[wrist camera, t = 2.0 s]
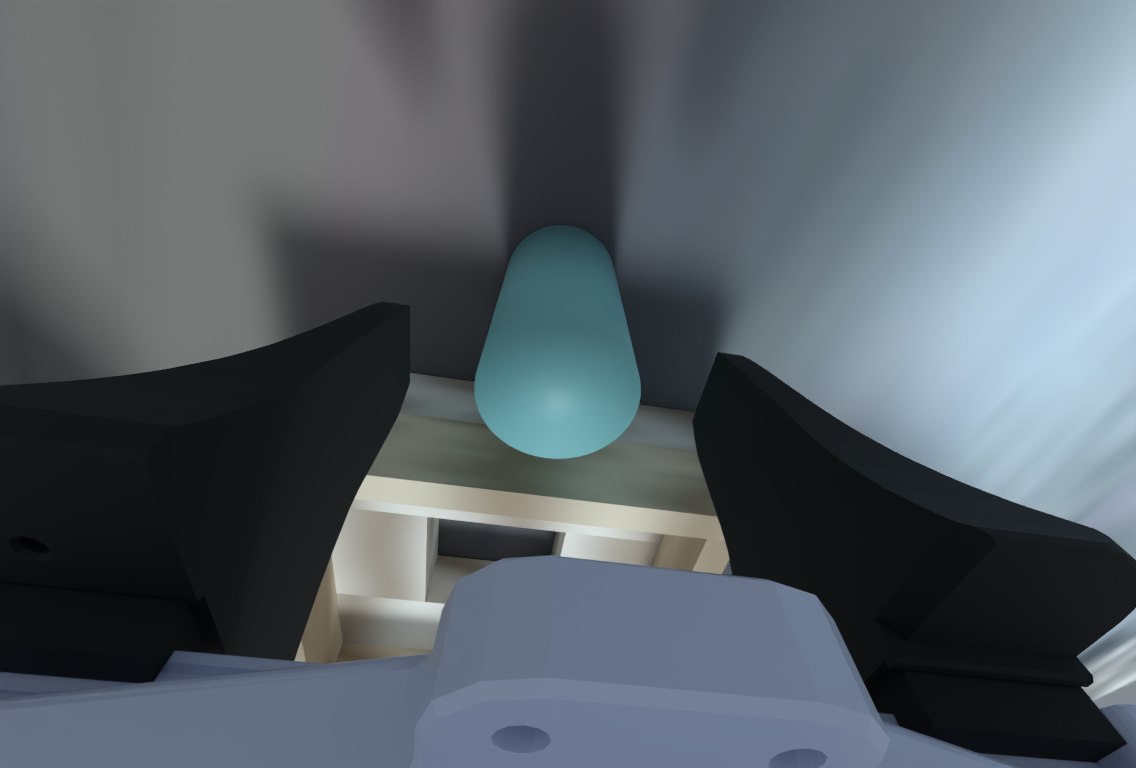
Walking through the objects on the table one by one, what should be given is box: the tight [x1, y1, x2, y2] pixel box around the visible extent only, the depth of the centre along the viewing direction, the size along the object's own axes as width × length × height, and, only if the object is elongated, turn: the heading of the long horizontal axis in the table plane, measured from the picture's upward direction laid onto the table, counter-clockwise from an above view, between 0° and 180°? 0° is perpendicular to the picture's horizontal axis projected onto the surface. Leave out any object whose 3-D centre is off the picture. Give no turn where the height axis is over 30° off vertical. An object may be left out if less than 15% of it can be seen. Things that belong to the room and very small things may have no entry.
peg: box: [474, 225, 641, 459], centre depth 14 cm, size 4×4×7 cm
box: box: [295, 373, 729, 664], centre depth 21 cm, size 15×15×6 cm
